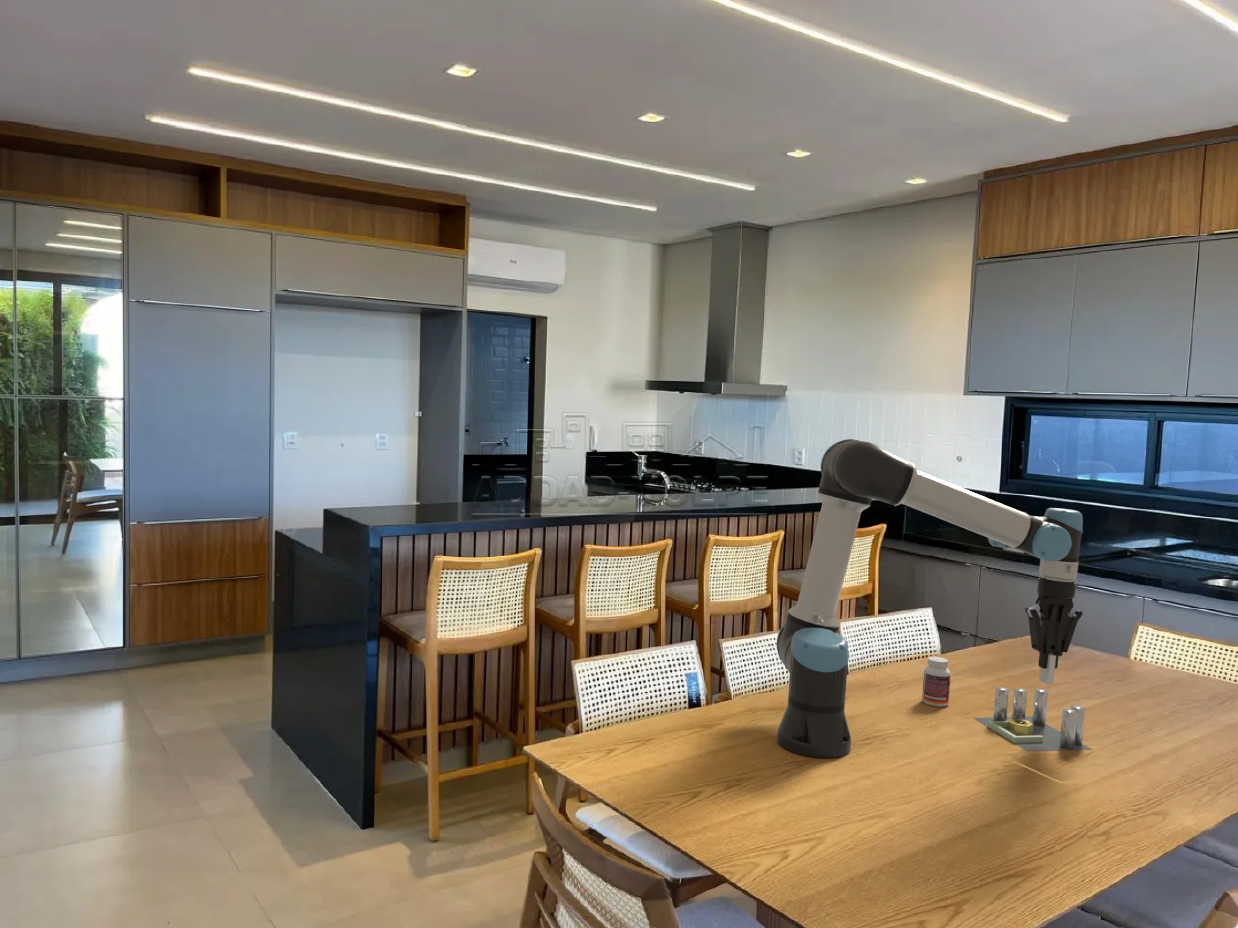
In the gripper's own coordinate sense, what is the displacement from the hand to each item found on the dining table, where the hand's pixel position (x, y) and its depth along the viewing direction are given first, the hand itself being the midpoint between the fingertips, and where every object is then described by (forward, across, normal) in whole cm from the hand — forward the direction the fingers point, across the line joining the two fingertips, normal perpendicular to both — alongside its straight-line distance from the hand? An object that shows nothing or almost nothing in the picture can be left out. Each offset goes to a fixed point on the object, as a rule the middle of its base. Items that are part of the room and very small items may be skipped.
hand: (1046, 682), depth 198 cm
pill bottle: (+13, -13, +22) cm, 28 cm away
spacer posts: (+12, -1, -1) cm, 12 cm away
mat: (+12, -2, 0) cm, 12 cm away
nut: (+12, -5, 0) cm, 13 cm away
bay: (+12, -6, 0) cm, 14 cm away
